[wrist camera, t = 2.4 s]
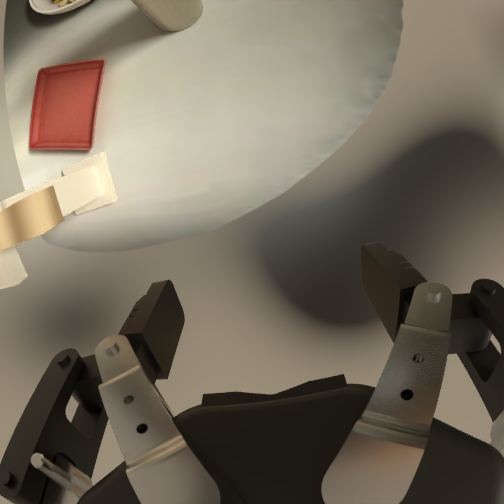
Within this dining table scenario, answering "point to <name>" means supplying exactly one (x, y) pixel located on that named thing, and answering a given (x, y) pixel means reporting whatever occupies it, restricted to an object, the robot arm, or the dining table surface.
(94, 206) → the tall stand
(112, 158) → the dining table surface
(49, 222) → the beech mallet
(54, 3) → the bowl
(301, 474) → the robot arm
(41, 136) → the plant saucer
